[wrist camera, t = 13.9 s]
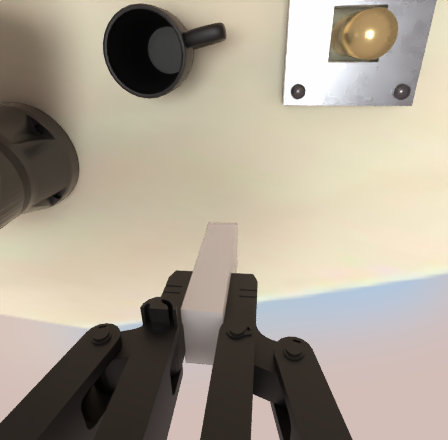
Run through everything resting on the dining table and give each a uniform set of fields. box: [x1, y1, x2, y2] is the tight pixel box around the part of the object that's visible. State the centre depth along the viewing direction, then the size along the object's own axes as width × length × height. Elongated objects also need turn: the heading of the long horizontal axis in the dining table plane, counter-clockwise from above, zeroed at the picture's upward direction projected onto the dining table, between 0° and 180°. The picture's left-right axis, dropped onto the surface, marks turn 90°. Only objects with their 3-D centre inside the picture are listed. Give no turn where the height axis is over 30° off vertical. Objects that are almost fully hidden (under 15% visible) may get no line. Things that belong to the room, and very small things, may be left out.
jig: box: [282, 0, 437, 106], centre depth 36 cm, size 14×14×6 cm
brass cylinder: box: [331, 7, 398, 60], centre depth 34 cm, size 4×4×10 cm
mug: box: [103, 4, 226, 98], centre depth 37 cm, size 8×12×10 cm
